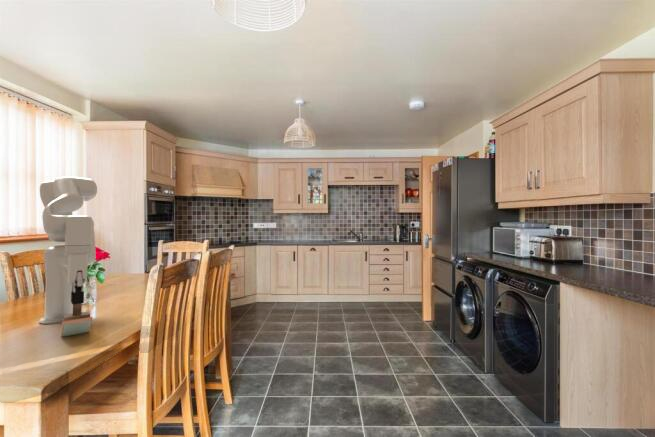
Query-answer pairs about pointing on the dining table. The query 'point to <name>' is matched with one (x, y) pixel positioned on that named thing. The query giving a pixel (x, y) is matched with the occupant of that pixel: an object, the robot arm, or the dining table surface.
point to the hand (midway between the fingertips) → (77, 302)
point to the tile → (76, 326)
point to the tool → (76, 313)
